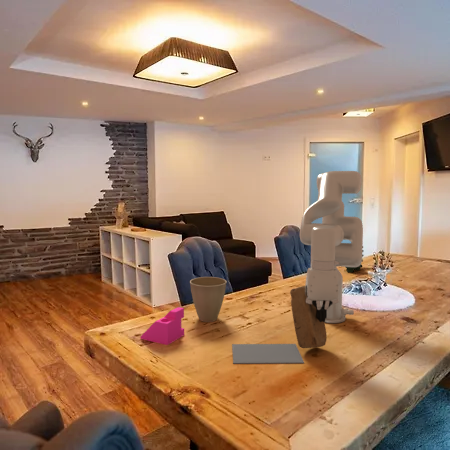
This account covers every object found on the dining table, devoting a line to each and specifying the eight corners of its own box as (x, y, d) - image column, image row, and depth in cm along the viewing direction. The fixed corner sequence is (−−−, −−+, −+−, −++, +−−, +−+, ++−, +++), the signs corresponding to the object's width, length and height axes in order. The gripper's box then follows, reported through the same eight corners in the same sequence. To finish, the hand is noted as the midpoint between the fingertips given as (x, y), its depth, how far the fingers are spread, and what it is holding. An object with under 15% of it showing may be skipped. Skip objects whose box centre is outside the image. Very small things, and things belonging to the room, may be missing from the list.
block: (316, 347, 122) (304, 284, 127) (296, 349, 126) (285, 288, 132) (332, 344, 130) (320, 285, 135) (312, 346, 134) (301, 289, 140)
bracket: (184, 335, 143) (183, 308, 142) (167, 345, 134) (166, 316, 133) (158, 329, 149) (157, 303, 148) (140, 338, 140) (139, 311, 139)
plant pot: (197, 327, 150) (197, 287, 148) (185, 315, 164) (185, 278, 162) (232, 322, 156) (232, 283, 154) (218, 311, 170) (218, 275, 168)
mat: (295, 344, 134) (295, 343, 134) (304, 363, 120) (304, 362, 120) (232, 345, 134) (232, 344, 134) (233, 363, 120) (233, 362, 120)
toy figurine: (352, 269, 259) (338, 272, 239) (354, 240, 258) (340, 242, 238) (366, 270, 253) (353, 274, 233) (368, 242, 253) (355, 243, 233)
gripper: (342, 262, 128) (340, 316, 130) (297, 262, 128) (296, 316, 130) (349, 267, 121) (347, 324, 123) (301, 267, 120) (300, 324, 122)
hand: (321, 320), depth 126 cm, fingers closed
